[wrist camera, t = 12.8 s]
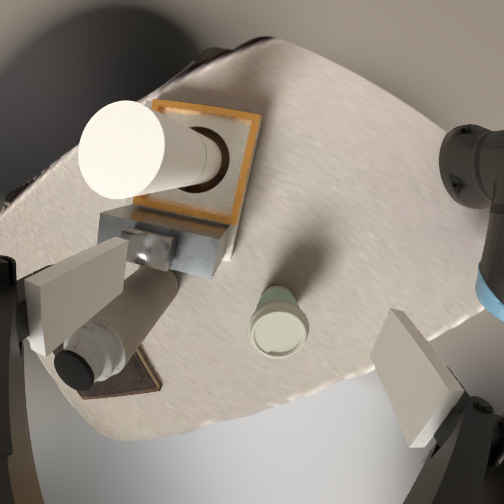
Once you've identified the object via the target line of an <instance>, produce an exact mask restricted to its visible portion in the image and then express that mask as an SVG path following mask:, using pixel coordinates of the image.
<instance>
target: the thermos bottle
mask: <svg viewBox="0 0 504 504" xmlns="http://www.w3.org/2000/svg"><path fill="white" fill-rule="evenodd" d="M177 291H178V281H177V278H176V276H175V274H174V273H173V271H172V270H171V269H169V270H168V271H167V272H166V271H162V270H158V269H154V268H151V267H147V266H142V267H141V268H139V269H138V270H137V271H135V272H134V273H133V274H131V275H130V276H129V277H128V278H127V279H125V280H124V285H123V292H122V293H121V294H119V295H118V296H117V297H116V298H114V299H113V300H112V301H111V302H110V303H108V304H107V305H106V306H105V307H104V308H102V309H101V310H100V311H99V312H98V313H96V314H95V315H94V316H93V317H92V318H91V319H89V320H88V321H87V322H86V323H85V324H84V325H82V326H81V327H80V328H79V329H78V330H77V331H75V332H74V333H73V334H72V335H71V336H70V337H68V338H67V339H66V340H65V341H64V349H63V350H62V351H60V352H59V353H58V354H57V355H56V356H55V359H54V366H55V369H56V371H57V373H58V375H59V377H60V378H61V379H62V380H63V381H64V382H65V383H66V384H67V385H68V386H70V387H71V388H73V389H75V390H78V391H87V390H89V389H90V388H91V387H92V385H93V384H94V383H95V382H96V381H104V380H106V379H108V378H109V377H110V376H112V375H115V374H117V373H119V372H120V371H121V370H122V369H123V368H124V367H125V365H126V364H127V362H128V361H129V360H130V358H131V357H132V355H133V354H134V352H135V351H136V350H137V348H138V347H139V346H140V344H141V343H142V342H143V340H144V339H145V337H146V336H147V335H148V333H149V332H150V330H151V329H152V328H153V326H154V325H155V324H156V322H157V321H158V320H159V318H160V317H161V315H162V314H163V313H164V311H165V310H166V309H167V307H168V306H169V305H170V303H171V302H172V301H173V299H174V298H175V296H176V294H177Z"/></svg>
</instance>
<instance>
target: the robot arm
mask: <svg viewBox="0 0 504 504" xmlns="http://www.w3.org/2000/svg"><path fill="white" fill-rule="evenodd" d="M439 167H440V174H441V178H442V181H443V184H444V186H445V188H446V190H447V192H448V193H449V194H450V196H451V197H452V198H453V199H454V200H455V201H456V202H457V203H459V204H461V205H463V206H465V207H469V208H473V209H482V208H485V207H488V206H491V211H490V216H489V223H488V229H487V234H486V239H485V244H484V249H483V254H482V259H481V261H480V262H479V265H478V276H477V281H476V285H475V290H476V295H477V298H478V300H479V301H480V303H481V304H482V305H483V306H484V308H485V309H487V310H488V311H489V312H490V313H491V314H493V315H494V316H496V317H497V318H499V319H500V320H502V321H504V216H503V215H504V130H501V131H490V130H488V129H486V128H483V127H481V126H477V125H472V124H468V125H463V126H458V127H456V128H454V129H453V130H451V131H450V132H449V133H448V134H447V136H446V137H445V139H444V141H443V143H442V146H441V150H440V156H439ZM499 214H500V215H499ZM128 241H129V240H126V239H122V238H119V237H113V238H111V239H109V240H106V241H104V242H102V243H100V244H97V245H95V246H93V247H91V248H89V249H86V250H84V251H82V252H80V253H78V254H76V255H73V256H71V257H69V258H67V259H65V260H63V261H61V262H59V263H57V264H53V265H48V266H46V267H44V268H42V269H39V271H38V270H37V271H35V272H33V274H32V273H31V274H29V275H27V276H25V277H23V278H21V279H19V280H17V279H16V261H15V260H14V259H13V258H11V257H8V256H2V255H0V504H44V501H43V497H42V494H41V490H40V486H39V482H38V477H37V473H36V468H35V463H34V458H33V453H32V447H31V440H30V434H29V426H28V419H27V408H26V397H25V380H24V346H23V340H24V338H26V337H28V336H29V339H30V346H31V349H32V350H34V351H35V352H37V353H39V354H41V355H43V356H44V357H47V356H48V355H49V354H50V353H51V352H53V351H54V350H55V349H56V348H57V347H58V346H59V345H60V344H62V343H63V342H64V341H65V340H66V339H67V338H68V337H70V336H71V335H72V334H73V333H74V332H75V331H77V330H78V329H79V328H80V327H81V326H82V325H84V324H85V323H86V322H87V321H88V320H89V319H91V318H92V317H93V316H94V315H95V314H96V313H98V312H99V311H100V310H101V309H102V308H104V307H105V306H106V305H107V304H108V303H110V302H111V301H112V300H113V299H114V298H116V297H117V296H118V295H119V294H121V293H122V292H123V285H124V275H125V266H126V257H127V249H128ZM370 356H371V359H372V361H373V363H374V365H375V368H376V370H377V372H378V374H379V377H380V379H381V381H382V383H383V386H384V388H385V390H386V393H387V395H388V397H389V400H390V402H391V405H392V407H393V409H394V412H395V414H396V417H397V419H398V421H399V424H400V426H401V429H402V431H403V433H404V436H405V439H406V441H407V444H408V447H425V446H426V445H427V443H428V442H429V441H430V439H431V438H432V437H433V436H434V437H435V439H436V441H437V443H436V444H435V445H434V447H433V448H432V449H431V450H430V451H429V453H428V454H427V455H426V456H425V457H424V459H423V460H422V461H421V463H424V462H425V463H424V465H423V468H422V469H421V471H420V473H419V475H418V477H417V479H416V481H415V483H414V485H413V487H412V489H411V490H410V492H409V494H408V495H407V497H406V499H405V501H404V503H403V504H504V460H503V461H502V462H501V464H500V465H499V461H500V460H501V458H502V457H503V456H504V414H503V416H500V415H496V414H494V409H493V408H492V406H491V405H490V404H489V403H488V402H487V401H485V400H484V399H482V398H479V397H476V396H472V397H470V396H469V395H468V393H467V392H466V391H465V389H464V388H463V387H462V385H461V384H460V382H458V380H457V378H456V377H455V376H454V374H453V373H452V371H451V370H450V369H449V368H448V367H447V366H446V365H445V364H444V362H443V361H442V360H441V358H440V357H439V356H438V354H437V353H436V352H435V351H434V349H433V348H432V347H431V345H430V344H429V343H428V342H427V340H426V339H425V338H424V336H423V335H422V334H421V333H420V331H419V330H418V329H417V328H416V326H415V325H414V324H413V323H412V322H411V320H410V319H409V318H408V317H407V315H406V314H405V313H404V312H403V311H400V310H396V309H391V308H390V311H389V313H388V315H387V318H386V320H385V323H384V325H383V327H382V329H381V332H380V334H379V336H378V338H377V341H376V343H375V345H374V347H373V349H372V351H371V354H370Z"/></svg>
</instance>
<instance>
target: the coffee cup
mask: <svg viewBox="0 0 504 504" xmlns="http://www.w3.org/2000/svg"><path fill="white" fill-rule="evenodd" d="M308 333H309V323H308V319H307V317H306V315H305V314H304V313H303V311H302V310H301V309H300V308H299V305H298V303H297V301H296V299H295V297H294V295H293V294H292V292H291V291H290V290H289V289H288V288H286V287H284V286H279V285H276V286H271V287H269V288H267V289H266V290H265V291H264V292H263V293H262V295H261V298H260V300H259V302H258V305H257V307H256V310H255V312H254V313H253V315H252V316H251V318H250V320H249V323H248V335H249V338H250V341H251V343H252V344H253V346H254V347H255V348H256V350H257V351H258V352H260V353H261V354H262V355H264V356H266V357H269V358H274V359H282V358H287V357H290V356H292V355H294V354H295V353H297V352H298V351H299V350H300V349H301V348H302V347H303V345H304V343H305V342H306V340H307V337H308Z"/></svg>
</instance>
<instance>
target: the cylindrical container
mask: <svg viewBox="0 0 504 504" xmlns="http://www.w3.org/2000/svg"><path fill="white" fill-rule="evenodd" d="M78 156H79V165H80V170H81V172H82V175H83V177H84V179H85V181H86V182H87V184H88V185H89V186H90V187H91V188H92V189H93V190H94V191H95V192H97V193H98V194H99V195H102V196H104V197H107V198H111V199H125V198H129V197H134V196H139V195H144V194H148V193H153V192H158V191H164V190H169V189H174V188H179V187H185V186H190V185H196V184H202V183H205V182H208V181H210V180H211V179H212V178H214V176H215V175H216V174H217V173H218V171H219V169H220V167H221V162H222V156H221V152H220V149H219V147H218V146H217V144H216V143H215V142H214V141H212V140H211V139H209V138H207V137H206V136H204V135H202V134H200V133H198V132H196V131H194V130H192V129H190V128H189V127H187V126H185V125H183V124H181V123H179V122H177V121H175V120H173V119H171V118H169V117H167V116H165V115H163V114H161V113H159V112H157V111H155V110H153V109H151V108H149V107H147V106H145V105H142V104H140V103H137V102H133V101H119V102H114V103H112V104H110V105H107V106H106V107H104V108H102V109H101V110H99V111H98V112H97V113H96V114H95V115H94V116H93V117H92V118H91V120H90V121H89V122H88V124H87V126H86V127H85V129H84V131H83V134H82V137H81V140H80V144H79V151H78Z"/></svg>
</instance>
